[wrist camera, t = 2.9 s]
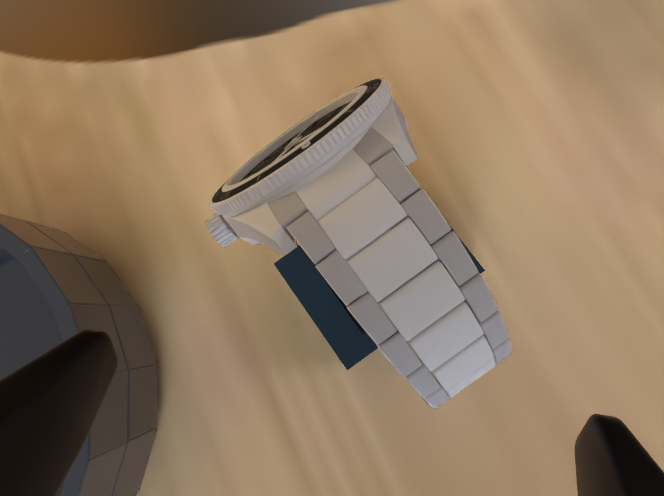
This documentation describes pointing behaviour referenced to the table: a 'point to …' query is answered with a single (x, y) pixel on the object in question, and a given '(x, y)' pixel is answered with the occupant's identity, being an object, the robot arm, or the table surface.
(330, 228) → the watch
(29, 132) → the table surface
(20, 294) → the bowl
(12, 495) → the robot arm
